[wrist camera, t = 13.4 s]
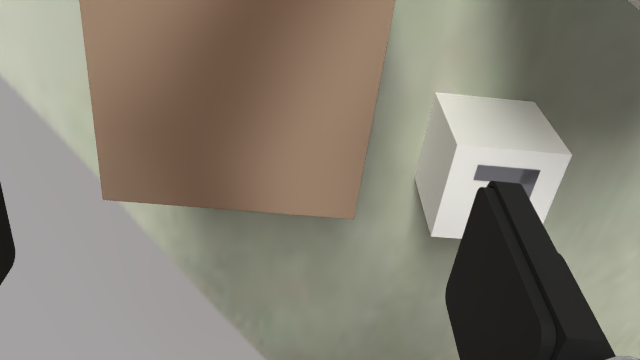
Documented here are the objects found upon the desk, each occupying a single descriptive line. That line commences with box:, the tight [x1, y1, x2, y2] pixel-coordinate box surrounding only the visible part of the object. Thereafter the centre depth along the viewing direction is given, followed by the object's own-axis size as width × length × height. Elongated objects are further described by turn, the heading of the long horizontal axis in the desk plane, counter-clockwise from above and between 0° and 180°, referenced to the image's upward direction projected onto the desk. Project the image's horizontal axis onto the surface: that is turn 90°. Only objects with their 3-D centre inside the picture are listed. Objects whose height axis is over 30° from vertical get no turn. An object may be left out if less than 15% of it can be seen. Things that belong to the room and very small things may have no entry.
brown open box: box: [79, 0, 395, 219], centre depth 18 cm, size 7×7×7 cm
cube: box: [414, 92, 572, 239], centre depth 22 cm, size 4×4×4 cm
